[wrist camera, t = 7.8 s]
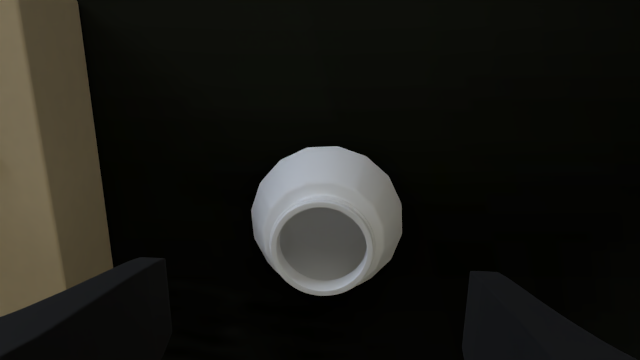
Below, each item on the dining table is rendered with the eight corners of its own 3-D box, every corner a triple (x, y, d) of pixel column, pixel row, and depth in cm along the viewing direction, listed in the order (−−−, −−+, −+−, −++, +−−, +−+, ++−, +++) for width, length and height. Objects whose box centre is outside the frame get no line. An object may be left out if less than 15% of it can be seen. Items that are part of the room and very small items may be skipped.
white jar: (228, 217, 17) (333, 302, 18) (203, 253, 15) (328, 353, 15) (321, 112, 16) (430, 210, 17) (313, 131, 13) (445, 247, 14)
